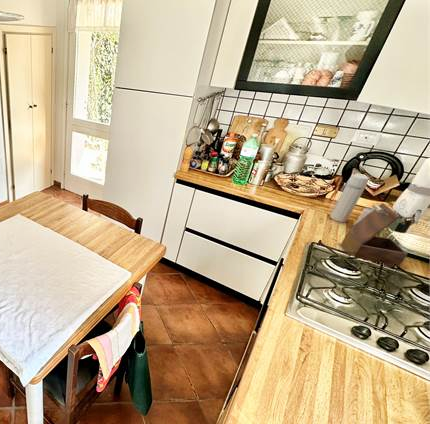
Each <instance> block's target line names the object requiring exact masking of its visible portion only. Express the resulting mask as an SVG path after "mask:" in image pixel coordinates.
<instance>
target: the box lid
mask: <svg viewBox="0 0 430 424" xmlns="http://www.w3.org/2000/svg"><path fill="white" fill-rule="evenodd" d="M371 208H373V209H374V210H373V211H372V212H370V213H369V214H368V215H367V216H365V217H364V218H363V219H361V220H360V221H359V222H358V223H356V222H355V223H356V224H355V223H354V225H352V226H351V227H350V228H348V231H350V233H351V234H352V235H353V236H354V237H355V238H356V239H357V241H358V242H359V243H360V244H361V245H363V244H365V243H366V242H367V241H369V240H370V239H371V238H373V237H374V236H378V234H380V233H381V232H383V231H384V230H386V229H387V228H388V226H389V225H391V224H392V223H394V222H395V221H396V220H398V219H399V218H400V216H399V215H398V214H397V213H395V212H394V211H395V210H393V208H392V209H391V207H389V206H388V205H387V204H385V203H383V202H382V203H381V204H379V205H378V204H373V205H372V207H371Z"/></svg>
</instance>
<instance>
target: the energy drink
mask: <svg viewBox="0 0 430 424" xmlns="http://www.w3.org/2000/svg"><path fill="white" fill-rule="evenodd" d="M373 210H374V208H373V207H364V208H363V209H362V211H361V213H360V214H359V216H358V218H357V219H356V222H355V223H354V225H355V224H356V223H358V222H359V221H360V220H361V219H363V218H364V217H365V216H367V215H368V214H369V213H370V212H372V211H373Z"/></svg>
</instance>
